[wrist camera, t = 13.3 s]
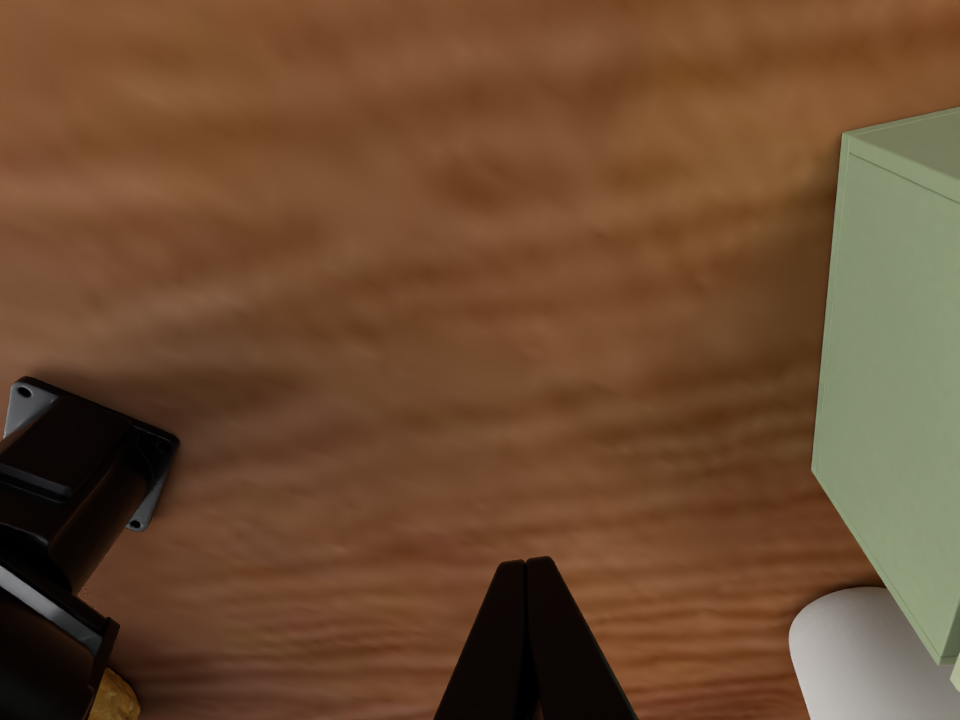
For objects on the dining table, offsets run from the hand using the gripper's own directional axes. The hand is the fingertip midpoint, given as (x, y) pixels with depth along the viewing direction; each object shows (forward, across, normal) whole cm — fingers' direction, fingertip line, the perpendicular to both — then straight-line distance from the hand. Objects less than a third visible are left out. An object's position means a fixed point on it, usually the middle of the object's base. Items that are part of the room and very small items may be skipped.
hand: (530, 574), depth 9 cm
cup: (+13, -13, +24) cm, 30 cm away
